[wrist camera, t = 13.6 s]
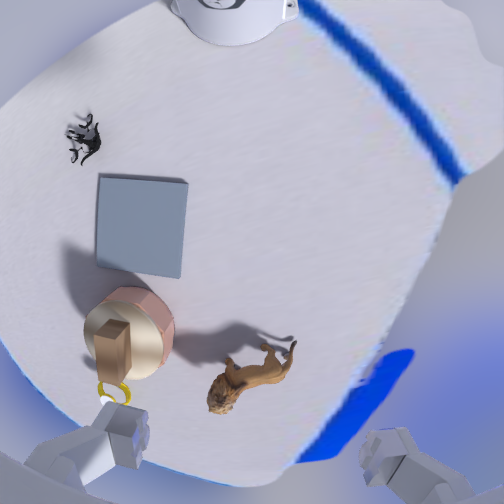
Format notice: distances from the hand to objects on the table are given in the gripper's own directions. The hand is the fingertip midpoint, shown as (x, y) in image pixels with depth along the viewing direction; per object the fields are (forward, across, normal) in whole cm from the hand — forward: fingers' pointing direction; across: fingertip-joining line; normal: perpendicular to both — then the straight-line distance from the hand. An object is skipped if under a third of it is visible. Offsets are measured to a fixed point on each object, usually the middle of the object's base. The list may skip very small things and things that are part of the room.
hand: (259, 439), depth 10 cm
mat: (+34, +17, -1) cm, 38 cm away
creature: (+34, +27, -13) cm, 46 cm away
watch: (+34, +21, +27) cm, 48 cm away
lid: (+28, +17, +14) cm, 36 cm away
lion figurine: (+34, -1, +18) cm, 39 cm away
